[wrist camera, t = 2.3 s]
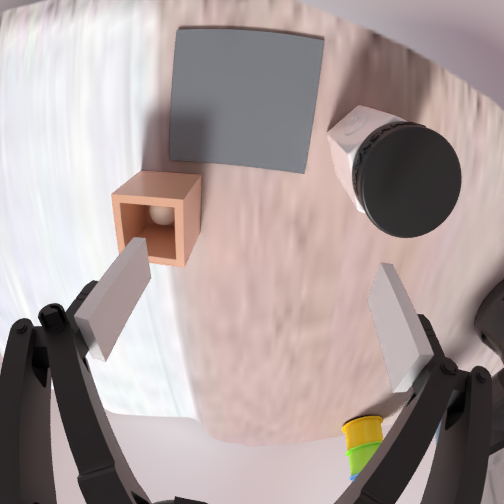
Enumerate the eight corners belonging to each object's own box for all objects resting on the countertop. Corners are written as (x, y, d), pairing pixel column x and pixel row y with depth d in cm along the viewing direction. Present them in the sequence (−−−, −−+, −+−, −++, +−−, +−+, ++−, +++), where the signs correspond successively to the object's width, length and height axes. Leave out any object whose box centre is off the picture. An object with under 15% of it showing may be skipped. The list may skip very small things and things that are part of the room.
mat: (323, 41, 22) (324, 40, 21) (304, 172, 29) (304, 173, 29) (177, 30, 22) (176, 29, 22) (170, 159, 29) (169, 159, 29)
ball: (182, 191, 31) (173, 203, 28) (182, 218, 32) (174, 232, 30) (154, 189, 31) (143, 200, 28) (156, 215, 32) (145, 228, 30)
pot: (201, 174, 30) (183, 199, 24) (200, 232, 34) (184, 267, 28) (140, 170, 30) (111, 194, 24) (144, 226, 34) (119, 258, 28)
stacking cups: (390, 413, 56) (407, 543, 27) (370, 430, 62) (381, 547, 32) (352, 414, 56) (362, 555, 27) (335, 431, 61) (340, 555, 32)
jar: (372, 89, 24) (429, 97, 14) (417, 149, 27) (480, 190, 16) (308, 145, 28) (329, 184, 18) (358, 200, 30) (395, 262, 20)
